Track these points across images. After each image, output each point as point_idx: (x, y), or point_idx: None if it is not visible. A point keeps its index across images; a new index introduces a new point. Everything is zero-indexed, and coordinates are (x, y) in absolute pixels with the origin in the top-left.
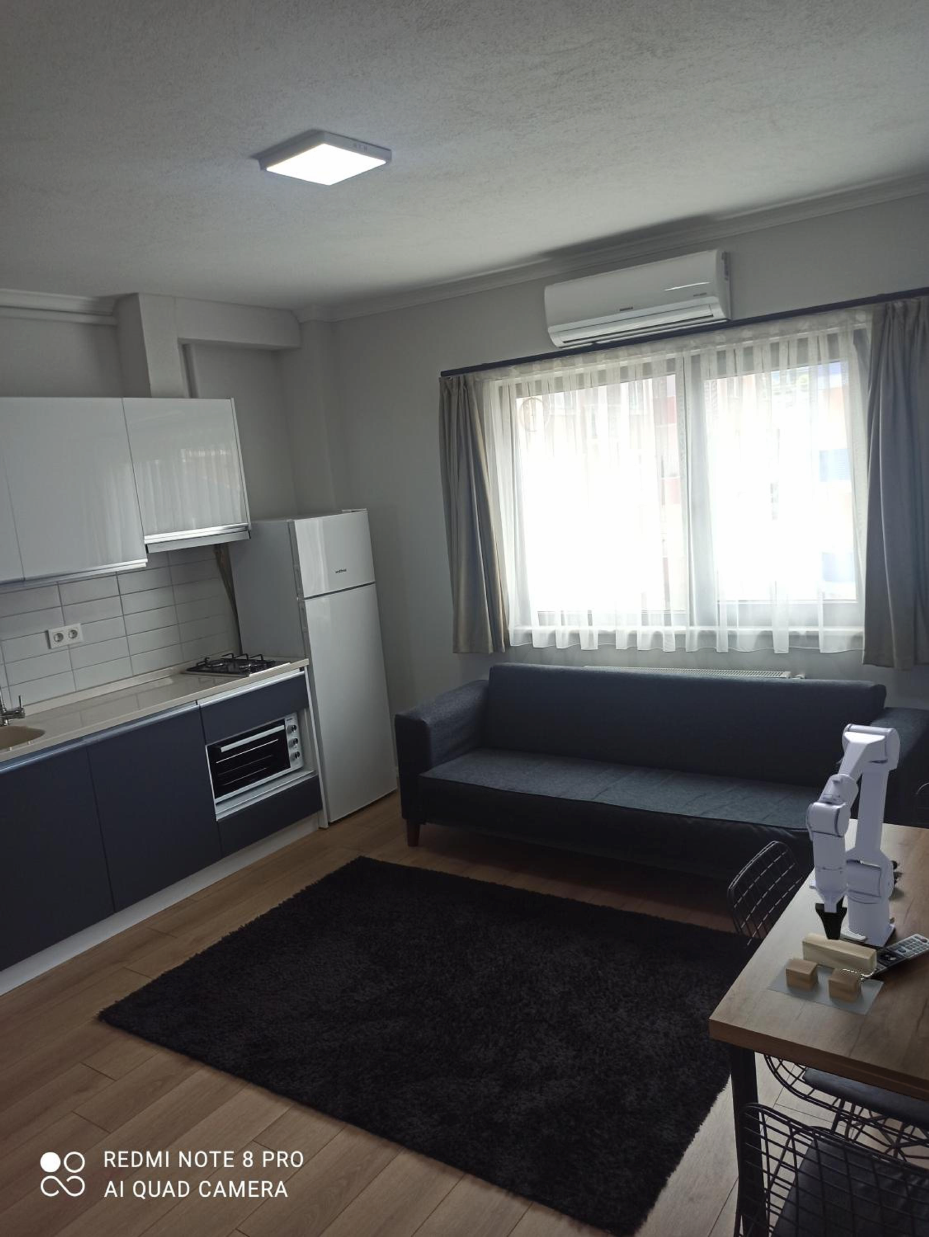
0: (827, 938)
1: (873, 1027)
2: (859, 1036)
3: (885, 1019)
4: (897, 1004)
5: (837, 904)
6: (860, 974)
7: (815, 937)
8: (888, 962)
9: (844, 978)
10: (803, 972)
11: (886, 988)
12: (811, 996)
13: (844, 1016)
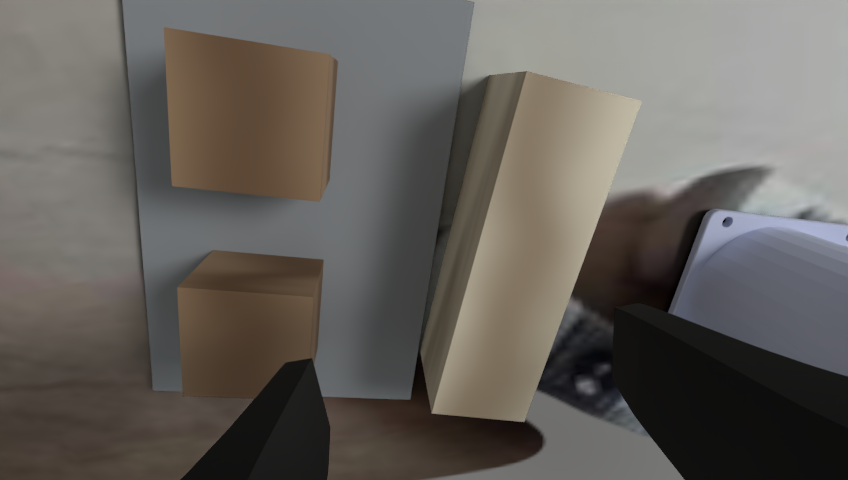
0: (283, 365)
1: (103, 418)
2: (10, 393)
3: (179, 438)
4: None
5: (720, 478)
6: None
7: (584, 142)
8: (557, 381)
9: (229, 350)
10: (176, 149)
11: (381, 406)
12: (171, 180)
13: (112, 324)
